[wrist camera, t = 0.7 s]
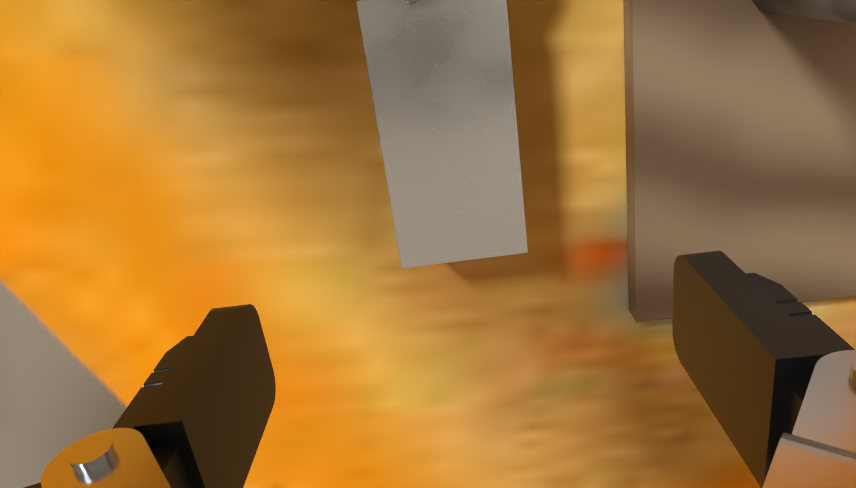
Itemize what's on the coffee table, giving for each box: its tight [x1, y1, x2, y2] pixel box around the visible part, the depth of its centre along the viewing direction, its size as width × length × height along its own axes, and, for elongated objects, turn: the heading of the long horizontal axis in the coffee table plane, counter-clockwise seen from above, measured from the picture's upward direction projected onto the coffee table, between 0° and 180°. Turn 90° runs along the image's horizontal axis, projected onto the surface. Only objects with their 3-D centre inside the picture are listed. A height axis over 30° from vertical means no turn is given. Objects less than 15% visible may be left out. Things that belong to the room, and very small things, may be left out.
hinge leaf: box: [356, 0, 528, 268], centre depth 24 cm, size 16×6×4 cm, turn 8°
